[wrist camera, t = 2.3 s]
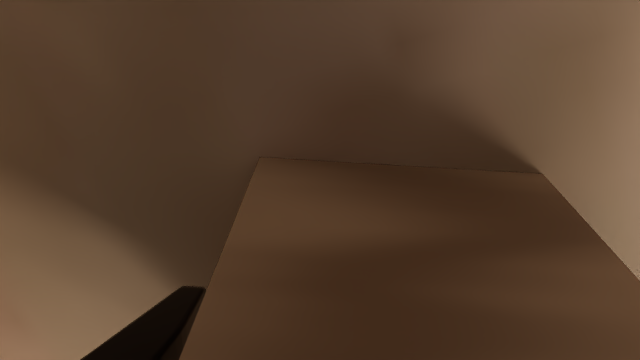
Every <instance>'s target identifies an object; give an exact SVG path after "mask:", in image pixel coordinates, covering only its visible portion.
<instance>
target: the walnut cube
mask: <svg viewBox="0 0 640 360" xmlns="http://www.w3.org/2000/svg"><path fill="white" fill-rule="evenodd" d="M179 360H640V281H639V280H638V279H637V277H636V276H635V275H634V274H633V273H632V272H631V271H630V270H629V269H628V268H627V266H626V265H625V264H624V263H623V262H622V261H621V260H620V259H619V258H618V256H617V255H616V254H615V253H614V252H613V251H612V250H611V249H610V248H609V247H608V245H607V244H606V243H605V242H604V241H603V240H602V239H601V238H600V237H599V236H598V234H597V233H596V232H595V231H594V230H593V229H592V228H591V227H590V226H589V225H588V223H587V222H586V221H585V220H584V219H583V218H582V217H581V216H580V215H579V213H578V212H577V211H576V210H575V209H574V208H573V207H572V206H571V205H570V204H569V202H568V201H567V200H566V199H565V198H564V197H563V196H562V195H561V194H560V193H559V191H558V190H557V189H556V188H555V187H554V186H553V185H552V184H551V183H550V182H549V180H548V179H547V178H546V177H545V176H544V175H543V174H534V173H518V172H501V171H484V170H467V169H450V168H433V167H416V166H399V165H382V164H366V163H349V162H332V161H315V160H298V159H281V158H264V157H260V158H259V160H258V163H257V165H256V168H255V170H254V173H253V175H252V178H251V180H250V183H249V185H248V188H247V190H246V193H245V195H244V198H243V200H242V203H241V205H240V208H239V210H238V213H237V215H236V218H235V220H234V223H233V225H232V228H231V230H230V233H229V235H228V238H227V240H226V243H225V245H224V248H223V250H222V253H221V256H220V258H219V261H218V263H217V266H216V268H215V271H214V273H213V276H212V278H211V281H210V283H209V286H208V288H207V291H206V293H205V296H204V298H203V301H202V303H201V306H200V308H199V311H198V313H197V316H196V318H195V321H194V323H193V326H192V328H191V331H190V333H189V336H188V338H187V341H186V343H185V346H184V348H183V351H182V353H181V356H180V358H179Z"/></svg>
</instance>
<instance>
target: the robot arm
mask: <svg viewBox="0 0 640 360" xmlns="http://www.w3.org/2000/svg"><path fill="white" fill-rule="evenodd" d="M205 293H206V289H205V288H204V287H197V286H182V287H180V288H179V289H177V290H176V291H175V292H173V293H172V294H170V295H169V296H168V297H166V298H165V299H164V300H162V301H161V302H159V303H158V304H157V305H155V306H154V307H152V308H151V309H150V310H148V311H147V312H146V313H144V314H143V315H141V316H140V317H139V318H137V319H136V320H135V321H133V322H132V323H130V324H129V325H128V326H126V327H125V328H123V329H122V330H121V331H119V332H118V333H117V334H115V335H114V336H112V337H111V338H110V339H108V340H107V341H106V342H104V343H103V344H101V345H100V346H99V347H97V348H96V349H94V350H93V351H92V352H90V353H89V354H88V355H86V356H85V357H83V358H82V359H81V360H179V358H180V356H181V353H182V351H183V348H184V346H185V343H186V341H187V338H188V336H189V333H190V331H191V328H192V326H193V323H194V321H195V318H196V316H197V313H198V311H199V308H200V306H201V303H202V301H203V298H204V296H205Z"/></svg>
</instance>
